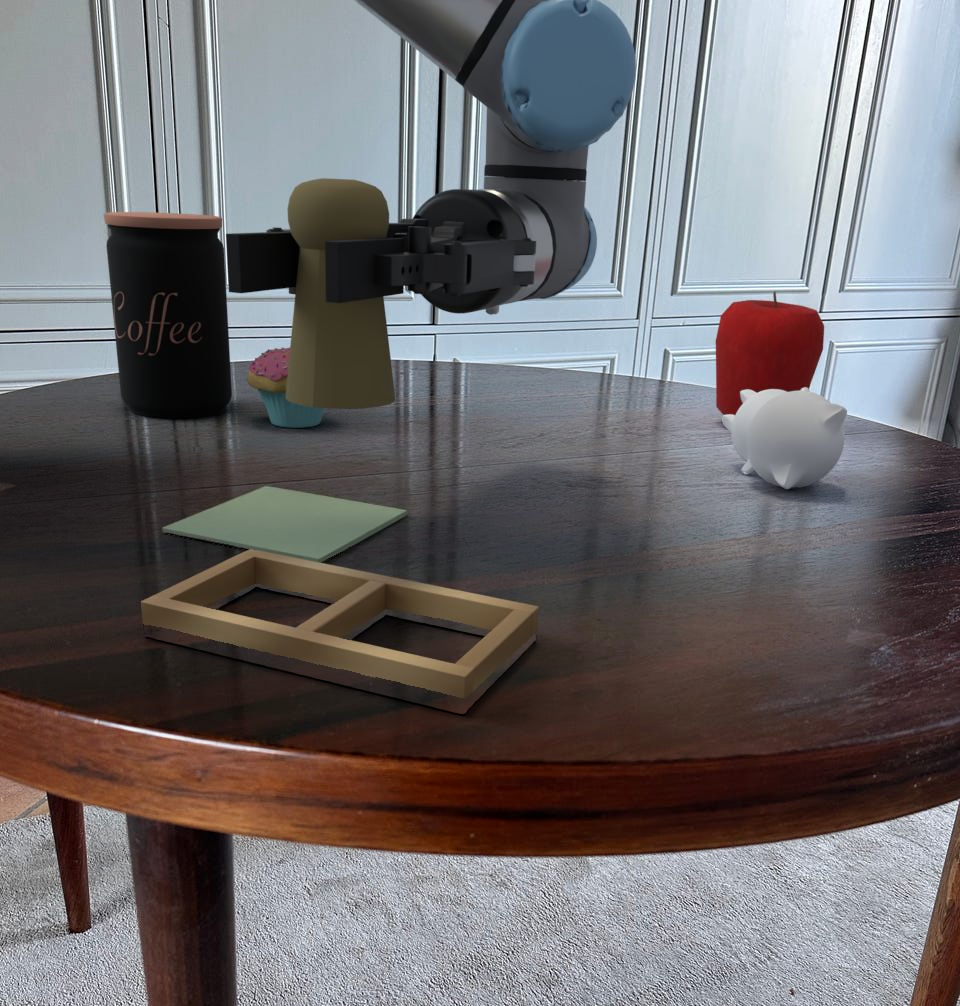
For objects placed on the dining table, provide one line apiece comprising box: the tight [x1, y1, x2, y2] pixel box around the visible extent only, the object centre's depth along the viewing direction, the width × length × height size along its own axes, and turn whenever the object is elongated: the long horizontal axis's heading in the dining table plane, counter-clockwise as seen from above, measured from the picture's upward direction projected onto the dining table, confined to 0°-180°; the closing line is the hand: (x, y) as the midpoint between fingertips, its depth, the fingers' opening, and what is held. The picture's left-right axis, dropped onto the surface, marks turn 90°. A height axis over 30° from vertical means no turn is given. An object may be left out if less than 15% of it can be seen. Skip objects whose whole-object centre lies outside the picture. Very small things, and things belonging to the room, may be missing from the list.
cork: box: [285, 177, 396, 410], centre depth 54 cm, size 6×6×11 cm
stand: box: [140, 549, 540, 698], centre depth 53 cm, size 18×10×2 cm, turn 67°
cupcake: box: [246, 347, 325, 429], centre depth 97 cm, size 9×8×12 cm
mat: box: [161, 485, 408, 563], centre depth 70 cm, size 12×12×1 cm
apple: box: [715, 291, 825, 415], centre depth 105 cm, size 11×10×14 cm
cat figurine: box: [721, 387, 848, 490], centre depth 86 cm, size 9×11×12 cm
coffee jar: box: [103, 211, 233, 419], centre depth 99 cm, size 11×11×18 cm
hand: (282, 267), depth 49 cm, fingers closed on cork, 5 cm apart
